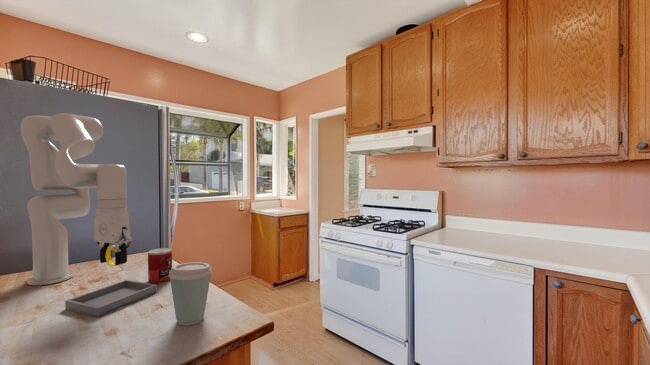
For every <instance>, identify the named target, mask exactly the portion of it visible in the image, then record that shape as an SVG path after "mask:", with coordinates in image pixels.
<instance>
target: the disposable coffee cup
mask: <svg viewBox="0 0 650 365" xmlns="http://www.w3.org/2000/svg"><path fill="white" fill-rule="evenodd" d="M212 272H213V267H212V266H211V264H209V263H208V262H199V261H198V262H197V261H195V262H193V261H192V262H191V261H190V262H185V263H179V264H175V265H172V268H171V271H170V272H169V277H170V280H169V281H170V288H171V294H172V299H173V307H174V313H175V321H177V323H178V324H179V325H181V326H192V325H195V324H198V323H200V322H201V321H203V318H204V317H205V313H206V312H205V311H206V306H207V301H208V300H207V299H208V294H209V287H210V282H211V278H212V277H211V276H212Z"/></svg>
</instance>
